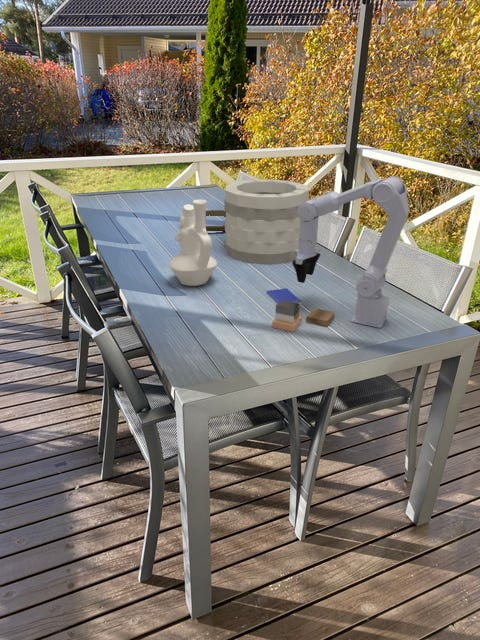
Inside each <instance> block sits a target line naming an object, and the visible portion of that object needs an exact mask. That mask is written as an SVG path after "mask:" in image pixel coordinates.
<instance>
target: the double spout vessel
mask: <svg viewBox="0 0 480 640" xmlns="http://www.w3.org/2000/svg"><path fill="white" fill-rule="evenodd" d="M207 202H208V201H207V200H206V199H194V200H192V204H188V203H187V204H185V205H183V207H182V210H181V212H180V215H179V221H178V225H179V227H180V229H179V230H178V232H177V233H176V235H175V236H174V241H176V242H178V245H179V246H180V249H181V250H180V251H178V254H177V255H175V256H174V257H173V258H172V259H171V260H170V261H168V267H169V268H170V270H171V271H172V272H173V274H174V275H175V276H176V278H177V279H178V281H179V282H180V284H181V285H184V286H188V287H189V286H190V287H197V286H198V287H199V286H201V285H202V286H203V285H205V284H207V282H208V281H209V279H210V277H211V276H212V273H213V272H214V271H215V270H216V268H217V266H218V261H217V260H216V259H215V258H214V257H213V256H211V254H212V248H213V247H212V246H213V245H212V243H213V242H212V238H211V236H210V235H209V233H207V231H206V211H207V204H208V203H207Z"/></svg>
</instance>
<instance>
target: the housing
mask: <svg viewBox="0 0 480 640" xmlns="http://www.w3.org/2000/svg"><path fill="white" fill-rule="evenodd" d="M300 306H301V304H299V303H294V302H289V301H285V300H281V301H280V302H279V303H278V304H276V305H275V316H274V317H275V318H274V319H275V320H278V321H282V322H286V323H290V324H294V323H295V322H296V321H297V320H298V319H299V317H300V311H301V310H300V308H301V307H300Z"/></svg>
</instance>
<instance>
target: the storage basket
mask: <svg viewBox="0 0 480 640" xmlns="http://www.w3.org/2000/svg"><path fill="white" fill-rule="evenodd" d="M224 187H225V199H224V200H223V201H224V203H223V204H224V209H223V210H224V211H226V220H225V232H224V233H225V241H224V252H225V251H226V252H227V253H228V254H227V253H226V252H225V253H226V254H227V255H228V256H229V258H231V259H232V260H236V261H239V262H243V263H245V264H246V263H247V264H255V265H268V266H271V265H279V264H288V263H292V262H293V261H294V260H296V257H297V253H295V250H296V249H298V247H299V228H300V218H299V216H298V213H297V210H298V207H299V206H300V205H301V204H302V203H303V202H306V201H308V200H309V195H310V193H309V192H310V189H309V188H308V187H307V186H306V184H303V183H299V182H295V181H291V180H282V179H246V180H239V181H234V182H232V183H230V184H227V185H225V186H224Z"/></svg>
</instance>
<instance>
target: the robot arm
mask: <svg viewBox="0 0 480 640" xmlns="http://www.w3.org/2000/svg"><path fill="white" fill-rule="evenodd" d="M407 192H408V188H407V186H406V185H405V183H404V181H403V180H402V179H401V178H400V177H398V176H395V175H391V176H388V177H386V179H385V178H379V179H375V180H372V181H368V182H365V183H364V184H361V185H358V186H356V187H353V188H351V189H348V190H346V191H343V192H340V193H339V192H338V191H337V192H336V191H333V190H332V191H331V190H328V191H326V192H324V194H323V195H320V196H317V197H316V196H313V197H311V199H308V201H306V202H303V203H302V204H301V205H300V206H299V207H298V210H297V213H298V216H299V218H300V228H299V247H298V249H296V250H295V253H297V257H296V260H294V261H292V262H291V263H292V264H291V265H292V266H293V269H294V270H295V273H296V280H297V282H298V283H301V284H303V283H304V284H305V282H306V278H307V275H308V276H309V275H310V276H313V274H314V271H315V268H316V265H317V262H318V260H319V258H320V257H321V253H320V252H318V247H319V245H317V242H318V229H319V217H322V216H326V215H327V214H331V213H334V212H337V211H340V209H341V208H342V206H343V205H344V204H347V203H349V202H353V201H356V200H359V199H362V198H366V199H367V200H370V201H372V200H374V202H376V204H378V206H379V207H381V208H382V209H383V210H384V212H385V213H386V215H387V219H386V222H385V224H384V227H383V230H382V231H381V234H380V237H379V239H378V242H377V244H376V247H375V250H374V253H373V255H372V257H371V259H370V263H369V265H368V267H367V268H366V269H365V271H364V272H363V276H362V277H361V278H360V279H358V281H357V282H356V283H355V284H356V285H355V288H356V291H357V295H356V297H357V299H356V307H355V314H354V315H353V317H352V318H351V320H350V321H351V322H352V323H356V324H361V325H365V326H369V327H375V328H379V329H381V328H383V325H384V324H385V322H386V320H387V314H388V310H389V309H388V308H389V303H390V302H389V300H390V298H389V297H388V296H385V295H383V291H382V288H383V287H384V285H386V284H385V283H386V279H387V278H386V275H387V272H388V269H387V267H388V264H389V263H390V260H391V258H392V255H393V253H394V250H395V248H396V246H397V243H398V240H399V239H400V236H401V233H402V231H403V229H404V226H405V223H406V222H407V219H408V216H409V215H410V214H409V212H410V211H409V210H410V209H409V202H408V196H407V194H408V193H407Z"/></svg>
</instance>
